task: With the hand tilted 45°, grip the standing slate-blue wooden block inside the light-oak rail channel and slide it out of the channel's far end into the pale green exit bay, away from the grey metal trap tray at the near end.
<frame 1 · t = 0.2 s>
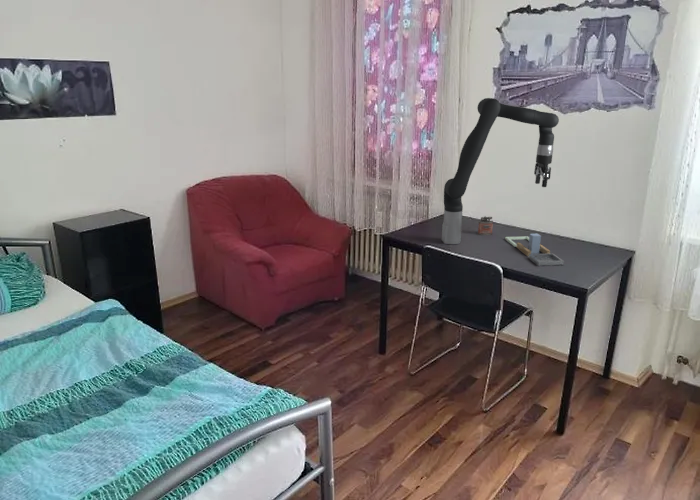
hand: (540, 185, 265), 29 cm above the table, tool pointing down, fingers open, 8 cm apart
exit bay: (521, 242, 269), on the table
block: (533, 252, 255), on the table
lighter: (484, 234, 285), on the table
trap tray: (545, 261, 242), on the table
rail channel: (532, 251, 256), on the table
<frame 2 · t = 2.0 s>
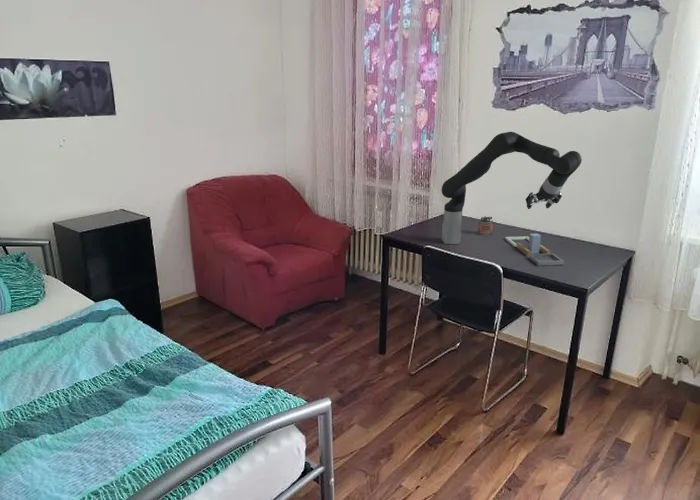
hand: (537, 207, 233), 27 cm above the table, tool tilted 45°, fingers open, 8 cm apart
nothing on the table moved.
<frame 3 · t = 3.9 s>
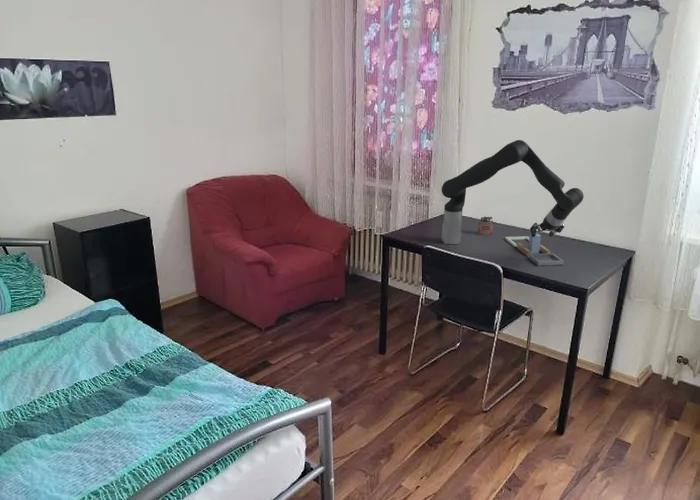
hand: (541, 235, 246), 11 cm above the table, tool tilted 45°, fingers open, 8 cm apart
nothing on the table moved.
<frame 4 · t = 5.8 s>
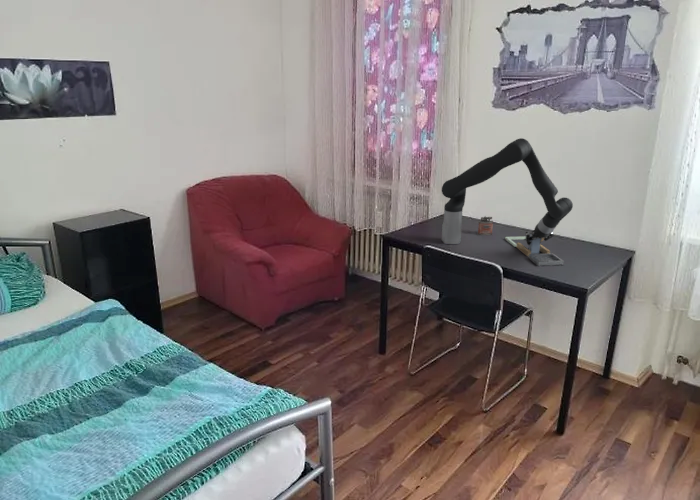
hand: (532, 243, 256), 4 cm above the table, tool tilted 45°, fingers closed on block, 4 cm apart
block: (533, 252, 255), on the table, touching gripper
everything else where it was.
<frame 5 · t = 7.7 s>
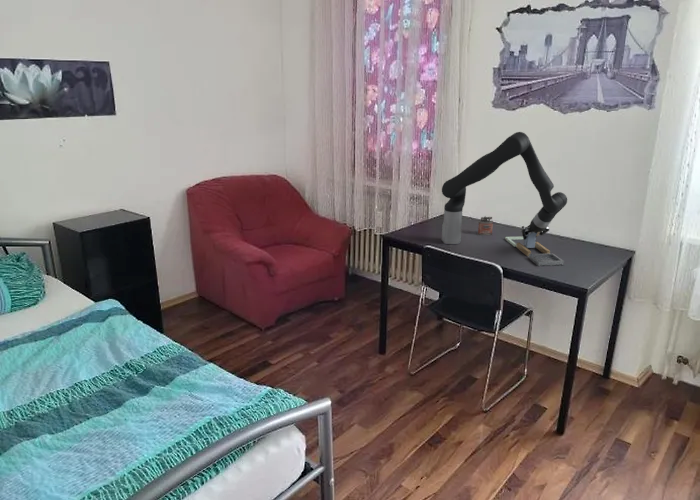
hand: (528, 237, 260), 5 cm above the table, tool tilted 45°, fingers closed on block, 4 cm apart
block: (529, 246, 260), point 1 cm above the table, touching gripper
everything else where it was.
when the fingers open (5 cm above the table, at t = 9.9 s): block drops 1 cm, on the table.
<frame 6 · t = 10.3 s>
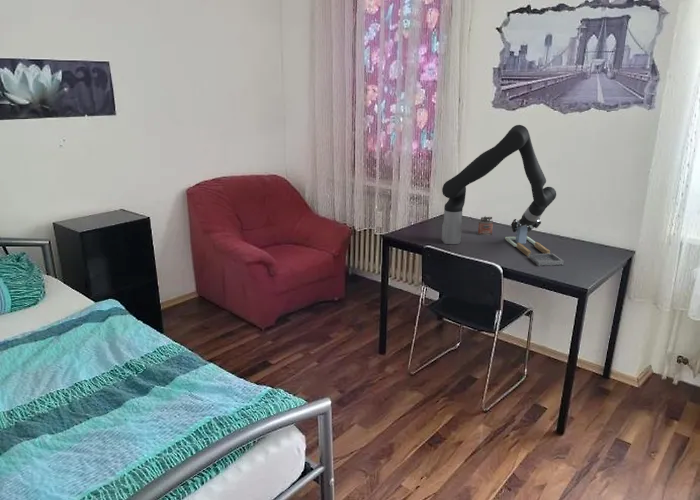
hand: (520, 230, 270), 6 cm above the table, tool tilted 45°, fingers open, 7 cm apart
block: (520, 242, 270), on the table
everything else where it was.
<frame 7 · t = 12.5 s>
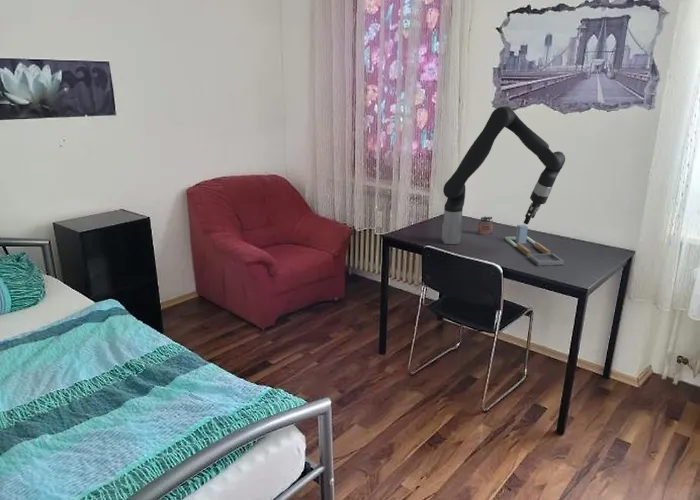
hand: (528, 220, 252), 16 cm above the table, tool tilted 20°, fingers open, 8 cm apart
nothing on the table moved.
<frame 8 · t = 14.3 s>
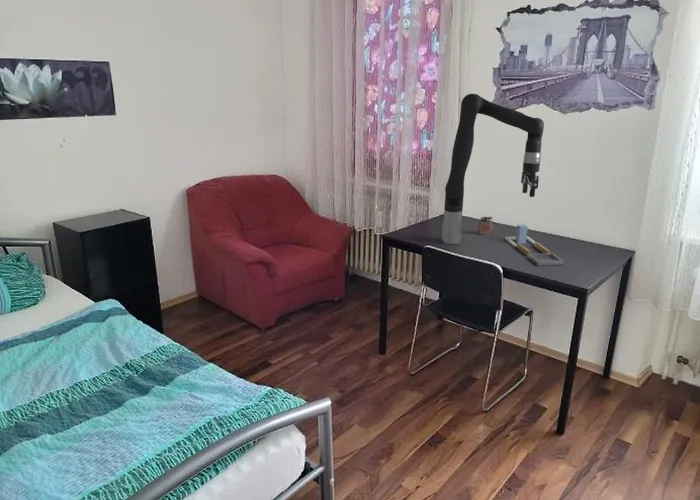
hand: (528, 194, 250), 28 cm above the table, tool pointing down, fingers open, 8 cm apart
nothing on the table moved.
at the end: block inside the target area on the exit bay (1.8 cm from its centre), point 0.0 cm above the exit bay's base; block tilted 0°; the gripper is holding nothing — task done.
